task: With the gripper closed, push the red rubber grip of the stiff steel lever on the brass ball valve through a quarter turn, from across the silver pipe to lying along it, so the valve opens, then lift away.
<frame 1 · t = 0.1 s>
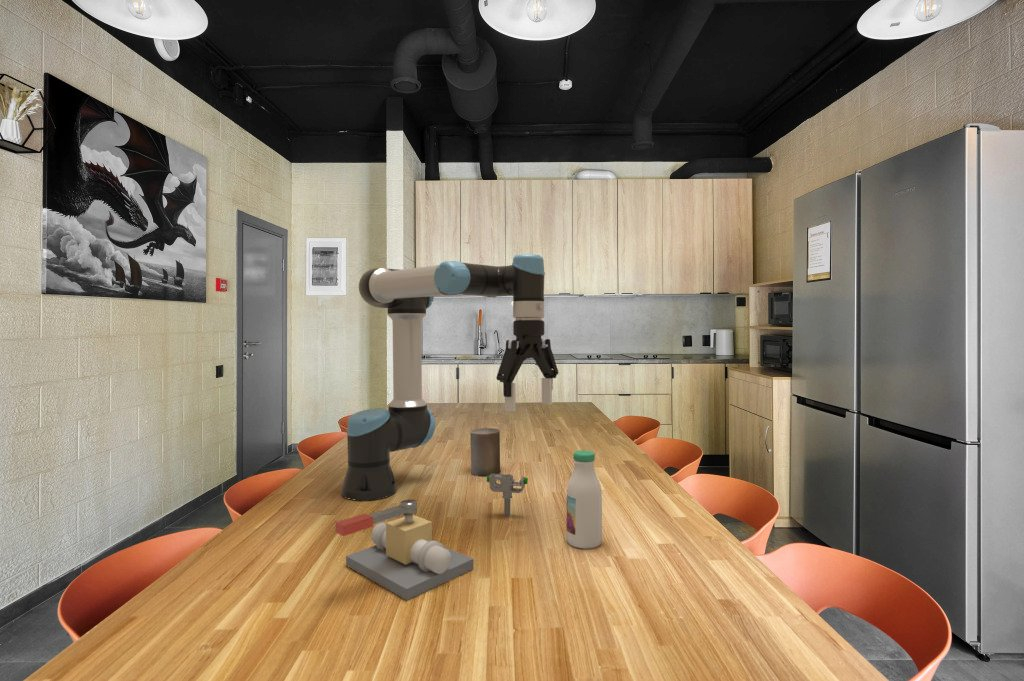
hand: (529, 407, 128), 28 cm above the table, tool pointing down, fingers open, 13 cm apart
milk bottle: (584, 543, 116), on the table
pillar candle: (485, 472, 172), on the table
valve lever: (379, 516, 99), point 12 cm above the table, hinge at 0.0°
valve manifold: (409, 567, 105), on the table
mechanical component: (507, 515, 133), on the table
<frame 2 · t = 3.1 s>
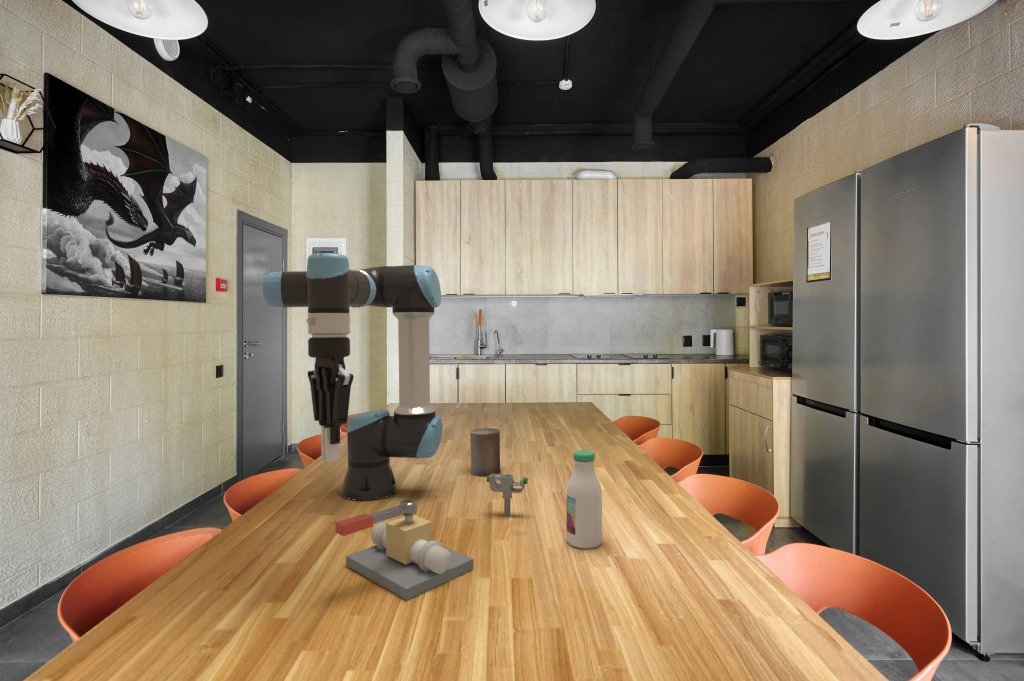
hand: (331, 459, 101), 22 cm above the table, tool pointing down, fingers closed
nothing on the table moved.
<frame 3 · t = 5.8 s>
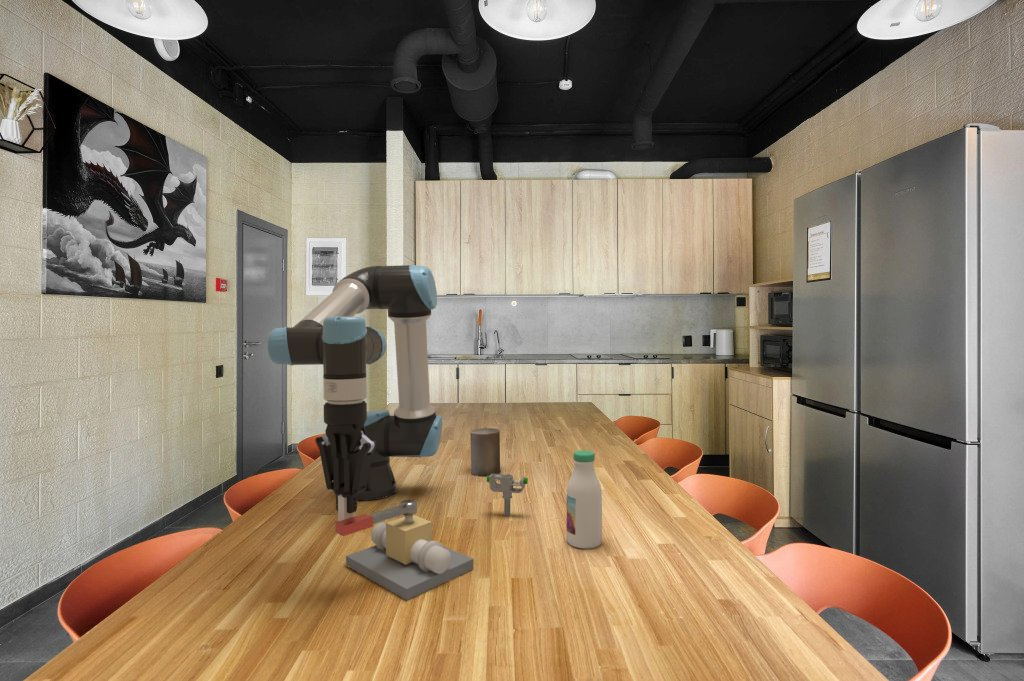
hand: (346, 529, 97), 11 cm above the table, tool pointing down, fingers closed
valve lever: (379, 516, 99), point 12 cm above the table, hinge at 0.1°, touching gripper
everything else where it was.
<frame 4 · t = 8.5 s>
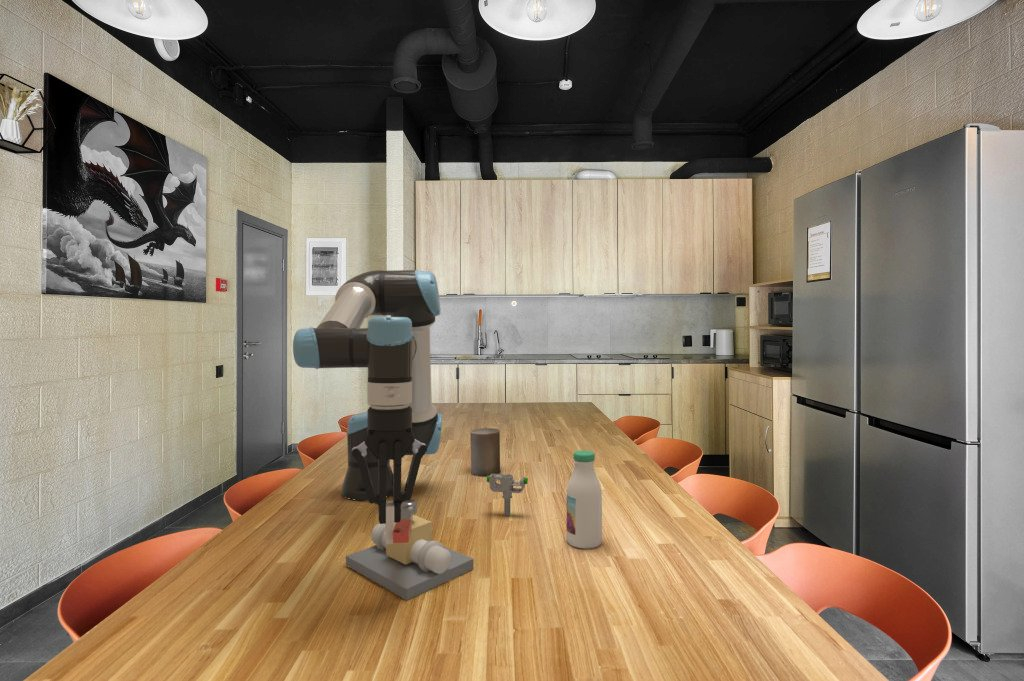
hand: (389, 540, 92), 10 cm above the table, tool pointing down, fingers closed
valve lever: (405, 519, 98), point 12 cm above the table, hinge at 48.3°, touching gripper
everything else where it was.
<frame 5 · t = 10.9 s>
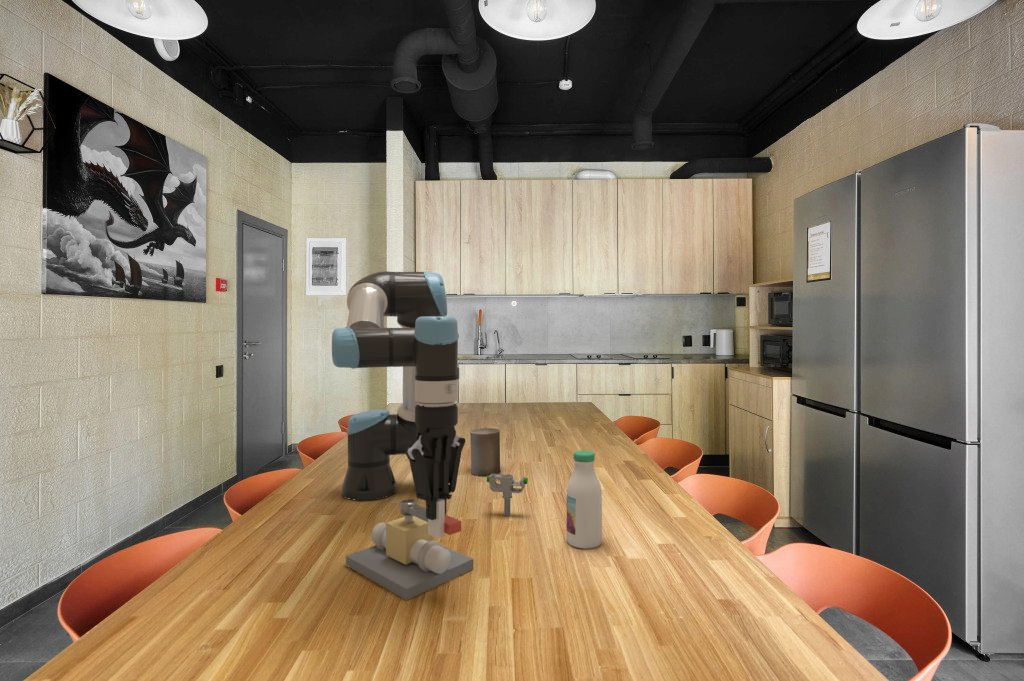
hand: (436, 535, 94), 11 cm above the table, tool pointing down, fingers closed
valve lever: (428, 516, 99), point 12 cm above the table, hinge at 86.2°, touching gripper
everything else where it was.
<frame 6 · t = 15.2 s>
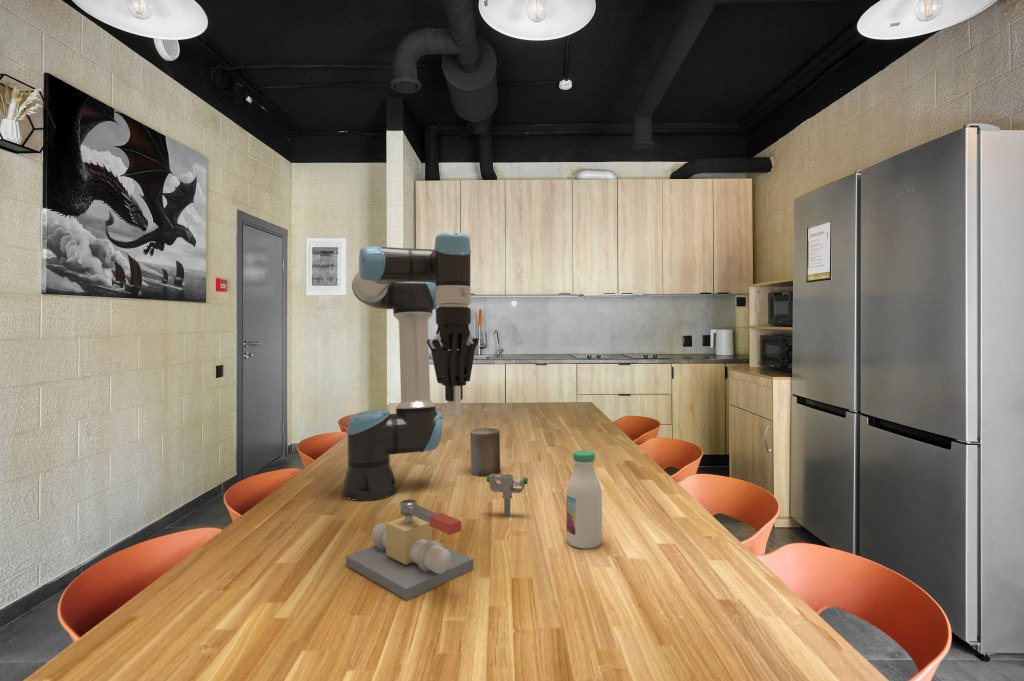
hand: (454, 415, 114), 28 cm above the table, tool pointing down, fingers closed
valve lever: (428, 516, 99), point 12 cm above the table, hinge at 86.3°
everything else where it was.
at the end: valve lever at +86° (first picture: +0°) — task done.
